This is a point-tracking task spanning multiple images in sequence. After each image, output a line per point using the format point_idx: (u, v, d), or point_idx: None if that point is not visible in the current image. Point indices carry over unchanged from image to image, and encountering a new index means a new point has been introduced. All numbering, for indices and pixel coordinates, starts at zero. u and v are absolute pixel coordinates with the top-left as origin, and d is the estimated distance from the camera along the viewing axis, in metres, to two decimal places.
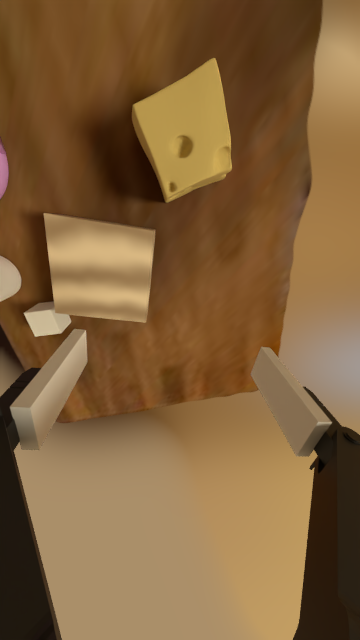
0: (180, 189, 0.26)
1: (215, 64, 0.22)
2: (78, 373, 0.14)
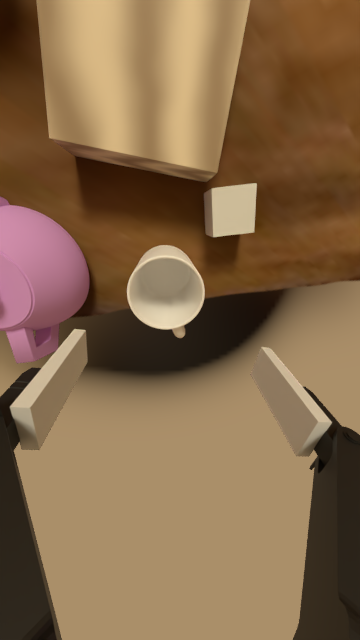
0: None
1: None
2: (78, 373, 0.13)
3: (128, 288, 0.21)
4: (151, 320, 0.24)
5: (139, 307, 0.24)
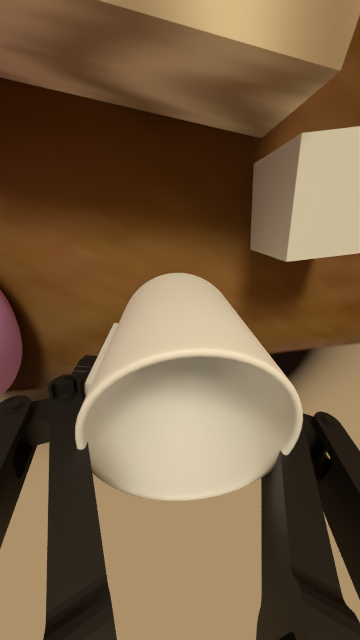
0: None
1: None
2: None
3: (78, 434, 0.07)
4: (148, 473, 0.10)
5: (119, 436, 0.10)
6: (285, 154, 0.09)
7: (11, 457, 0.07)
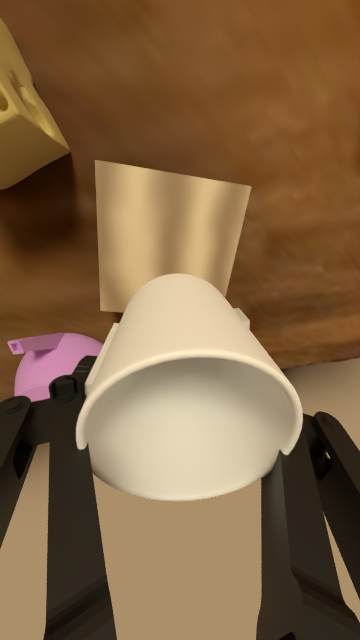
0: None
1: None
2: None
3: (79, 434, 0.07)
4: (149, 473, 0.10)
5: (119, 437, 0.10)
6: None
7: (11, 457, 0.07)
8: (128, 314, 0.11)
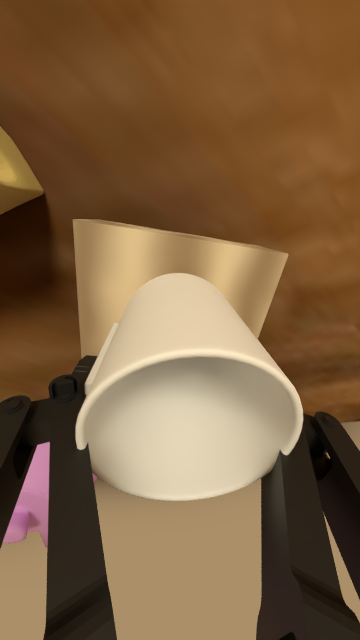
0: None
1: None
2: None
3: (78, 434, 0.07)
4: (149, 473, 0.10)
5: (119, 436, 0.10)
6: None
7: (11, 457, 0.07)
8: (128, 313, 0.11)
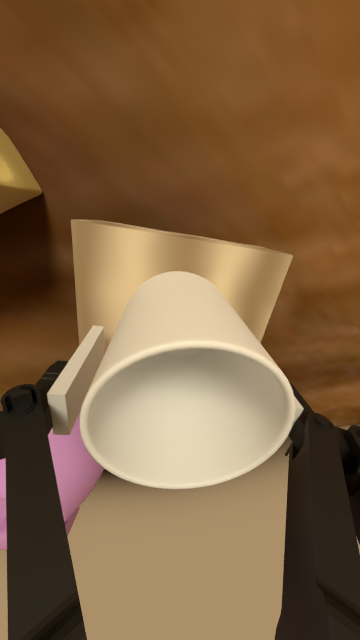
0: None
1: None
2: (97, 367, 0.14)
3: (82, 422, 0.07)
4: (149, 462, 0.10)
5: (120, 428, 0.10)
6: None
7: None
8: (129, 310, 0.11)
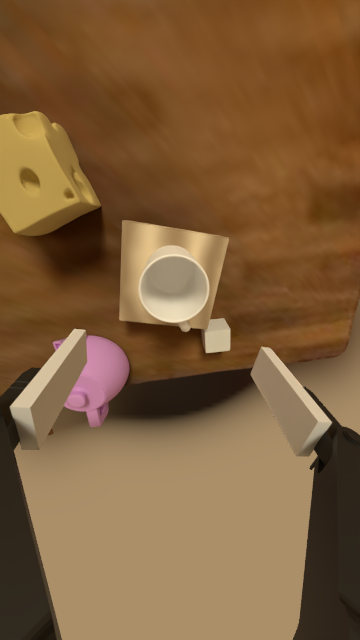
0: (68, 183, 0.24)
1: None
2: (78, 373, 0.14)
3: (139, 284, 0.23)
4: (159, 314, 0.26)
5: (148, 302, 0.26)
6: (203, 331, 0.41)
7: None
8: (151, 257, 0.27)
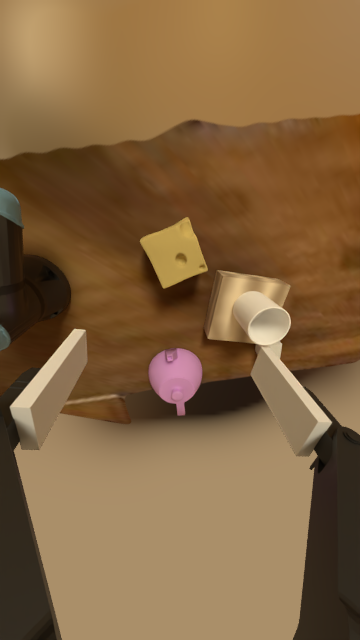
0: (204, 261, 0.39)
1: (143, 241, 0.37)
2: (78, 373, 0.14)
3: (250, 323, 0.38)
4: (255, 340, 0.41)
5: None
6: None
7: None
8: (247, 303, 0.42)
